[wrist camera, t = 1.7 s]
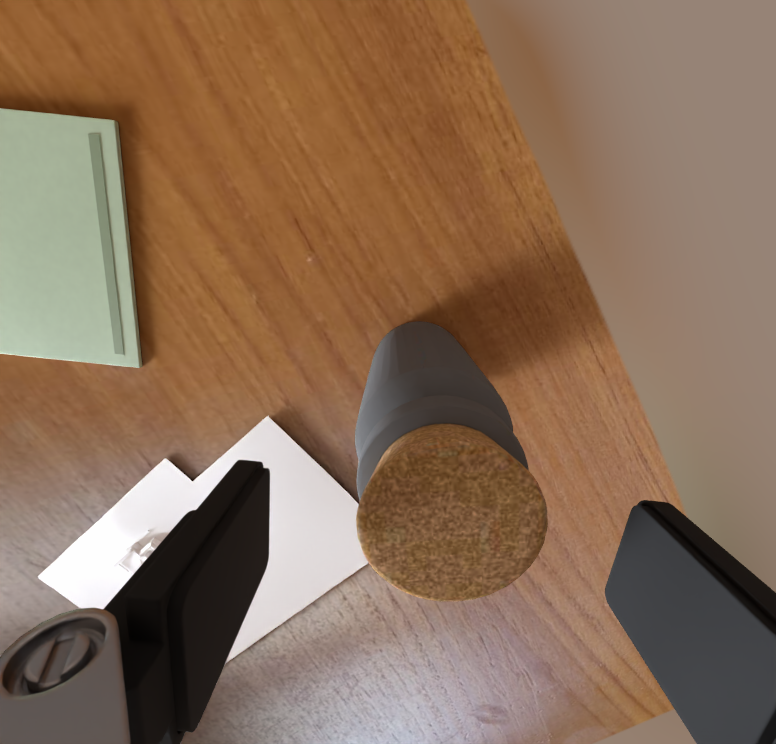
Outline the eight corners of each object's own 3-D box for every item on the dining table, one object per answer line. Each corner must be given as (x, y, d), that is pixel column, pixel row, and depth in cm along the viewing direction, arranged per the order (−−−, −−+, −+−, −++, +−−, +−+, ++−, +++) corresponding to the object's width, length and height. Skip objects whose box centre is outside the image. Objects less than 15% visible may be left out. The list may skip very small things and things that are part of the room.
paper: (202, 692, 32) (195, 706, 31) (33, 581, 29) (20, 592, 28) (404, 532, 27) (404, 543, 26) (223, 374, 24) (215, 379, 23)
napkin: (-137, 95, 20) (-146, 92, 19) (118, 121, 20) (113, 119, 19) (-70, 344, 24) (-76, 345, 23) (142, 366, 24) (139, 368, 23)
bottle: (384, 310, 22) (359, 394, 8) (475, 332, 22) (614, 453, 8) (364, 396, 24) (312, 596, 9) (449, 416, 24) (525, 640, 10)
